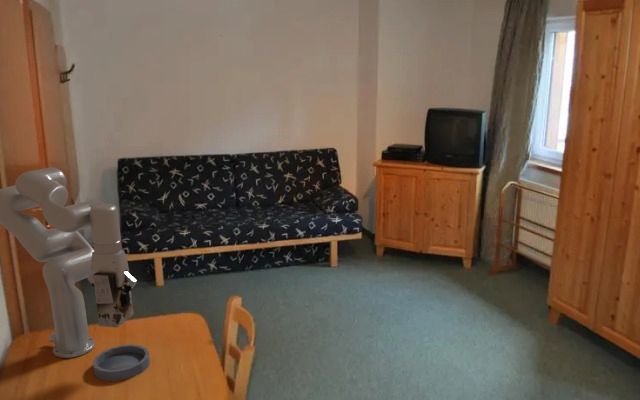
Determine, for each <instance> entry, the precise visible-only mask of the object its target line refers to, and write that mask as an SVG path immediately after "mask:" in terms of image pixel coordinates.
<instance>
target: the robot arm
mask: <svg viewBox="0 0 640 400" xmlns="http://www.w3.org/2000/svg"><path fill="white" fill-rule="evenodd" d="M68 198H69V192H68V189H67V177H66V175H65V174H64V172H63V171H62V170H60V169H59V168H57V167H44V168H40V169H35V170H29V171H26V172H24V173H22V174H20V175H19V176H17V178H16V180H15V183H14V185H11V186H6V187H2V188H0V225H1V226H2V227H3V228H4V229H6V230H7V231H8V232H9V233H10V234H12V235H13V236H14V237H15V239H16V240H17V241H18V242H19V243H20V244H21V245H22V247H23V248H24V249H25V251H26V252H28V254H29V255H30V256H31V257H32V259H34V260H35V261H37V262H39V263H45V262H46V263H45V264H44V265H43V267H42V277H43V279H44V282H45V284H46V287H47V290H48V295H49V299H50V304H51V311H52V318H53V319H52V320H53V323H54V324H53V325H54V331H55V332H51V333H50V334H49V335H50V336H49V337H48V342H49V343H53V344H54V346H53V347H52V353H53V355H54V356H55V357H58V358H62V359H69V358H70V359H71V358H75V357H80V356H83V355H85V354H88V352H90V351H92V350H93V349H94V347H95V346H96V340H95V339H94V338H93V337H91V336H90V335H89V327H88V320H87V312H86V305H85V299H84V294H83V292H82V291H81V290H80V289H79V288H78V287H77V286H76V285H75V284H76V283H78V282H80V281H82V280H84V279H87V280H88V282H89V283H90V284H91V286H92V287H93V288H94V279H93V274H95V273H112V274H115V277H116V286H117V288H118V287H120V291H121V293H122V295H121V296H120V297H121V305H122V308H125V307H126V306H127V305H129V304H130V296H129V292H130V291H131V292H132V290H133V289H134V287H135V286H136V285H137V283H138V280H137V279H136V278H135V277H134V276H132V275H131V274H130V267H129V263H128V259H127V256H126V252H125V250H124V249H123V246H122V245H123V244H122V236H121V230H120V229H121V228H120V220H119V212H118V208H117V205H115V204H112V203H105V202H103V201H100V199H99V200H98V199H90V200H87V201H82V202H77V203H75V204H71V205H67V206H65V205H66V203H67V202H68ZM38 207H41V211H42V215H43V218H44V219H45V221H46V222H47V223H48V224H49V225H50V226H52V227H53V228H48V227H46V226H45V225H43V223H42V222H41V221H40V220H39V219H38V218H37V217H35V216H33V215H31V214H28V213H25V212H23V211H26V210H31V209H34V208H35V209H36V208H38ZM88 228H90V229H91V236H92V242H91V243H89V242H88V241H87V240H86V238H84V236H83V235H82V234H81V233H80V232H79V231H81V230H85V229H88ZM127 282H129V283H130V284H129V285H128V283H127ZM123 285H124V287H125V289H124V287H123Z"/></svg>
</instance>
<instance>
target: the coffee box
mask: <svg viewBox="0 0 640 400" xmlns="http://www.w3.org/2000/svg"><path fill="white" fill-rule="evenodd" d="M93 279H94V287H93V288H94V295H95V296H94V297H95V303H96V311H97V319H98V326H99V327H107V328H119V327H121V326H122V325H123V324H124V323H125V322H126V321H127V320H129V319H130V318H131V317H133V316H134V307H133V297H132V290H131V291H130V292H129V296H130V304H129V305H127V306H126V307H125V308H122V305H121V297H120V296H121V295H122V293H121V291H120V287H118V288H117V286H116V277H115V274H112V273H95V274H93ZM127 283H128V285H129V284H130V283H129V282H127ZM123 287H124V285H123ZM124 289H125V287H124Z"/></svg>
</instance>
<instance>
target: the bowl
mask: <svg viewBox="0 0 640 400" xmlns="http://www.w3.org/2000/svg"><path fill="white" fill-rule="evenodd" d="M150 363H151V358H150V352H149V349H148V348H146V347H144V346H142V345H138V344H132V343H131V344H121V345H117V346H114V347H110V348H108V349H106V350H104V351H102V352H100V353H99V354H98V355H96V356H95V358H94V360H93V362H92V366H93V373H94V375H95V378H98V379H99V380H101V381H107V382H116V381H125V380H127V379H131V378H135V377H136V376H138V375H140V374H142V373H143V372H145V371H146V370H147V369H148V368H149V365H150Z"/></svg>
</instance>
